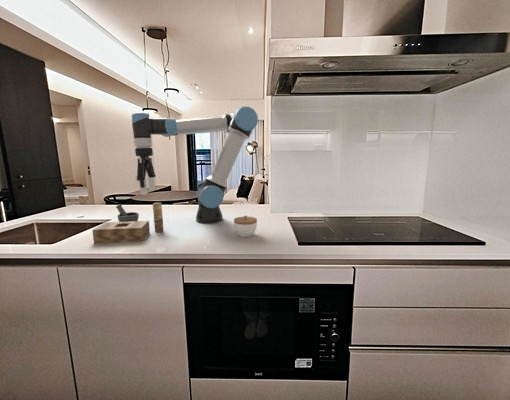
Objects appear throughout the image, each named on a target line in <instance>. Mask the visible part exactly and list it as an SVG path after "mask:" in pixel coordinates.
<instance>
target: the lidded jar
mask: <svg viewBox="0 0 510 400" xmlns="http://www.w3.org/2000/svg"><path fill="white" fill-rule="evenodd" d="M233 223H234V225H233V226H234V230H235V232H236V233H237V235H238V236H240V238H250V237H252V236H253V235H254V234H255V232H257V231H256V230H257V225H258V224H257V223H258V218H257V217H254V216H248V215H244V216H239V217H235V218H234V219H233Z"/></svg>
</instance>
